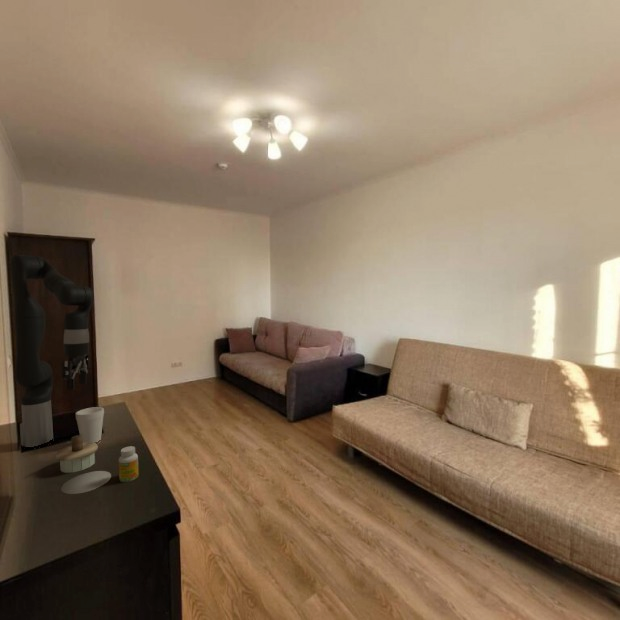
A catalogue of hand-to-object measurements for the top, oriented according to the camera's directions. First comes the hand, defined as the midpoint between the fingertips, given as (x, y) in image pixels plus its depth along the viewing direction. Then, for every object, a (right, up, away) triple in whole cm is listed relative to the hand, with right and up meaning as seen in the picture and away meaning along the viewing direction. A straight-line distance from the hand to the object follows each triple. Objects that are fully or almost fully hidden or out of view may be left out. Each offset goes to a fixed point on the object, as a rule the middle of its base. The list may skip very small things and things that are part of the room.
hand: (76, 386), depth 121 cm
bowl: (+4, -26, -5) cm, 27 cm away
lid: (+4, -21, -6) cm, 23 cm away
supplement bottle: (+26, -26, -14) cm, 40 cm away
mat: (+14, -27, -16) cm, 34 cm away
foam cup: (-4, -26, +14) cm, 30 cm away
